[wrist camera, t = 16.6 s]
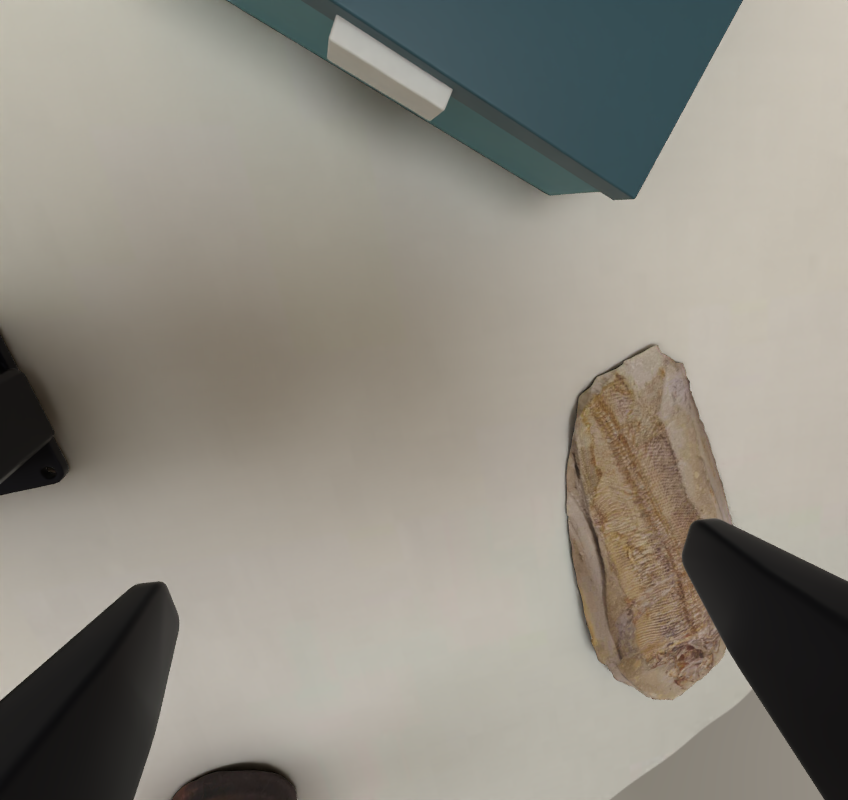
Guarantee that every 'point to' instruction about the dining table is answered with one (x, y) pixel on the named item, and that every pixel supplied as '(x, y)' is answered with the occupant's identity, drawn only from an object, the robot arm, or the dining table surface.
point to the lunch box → (526, 74)
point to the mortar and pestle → (238, 787)
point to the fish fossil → (643, 523)
